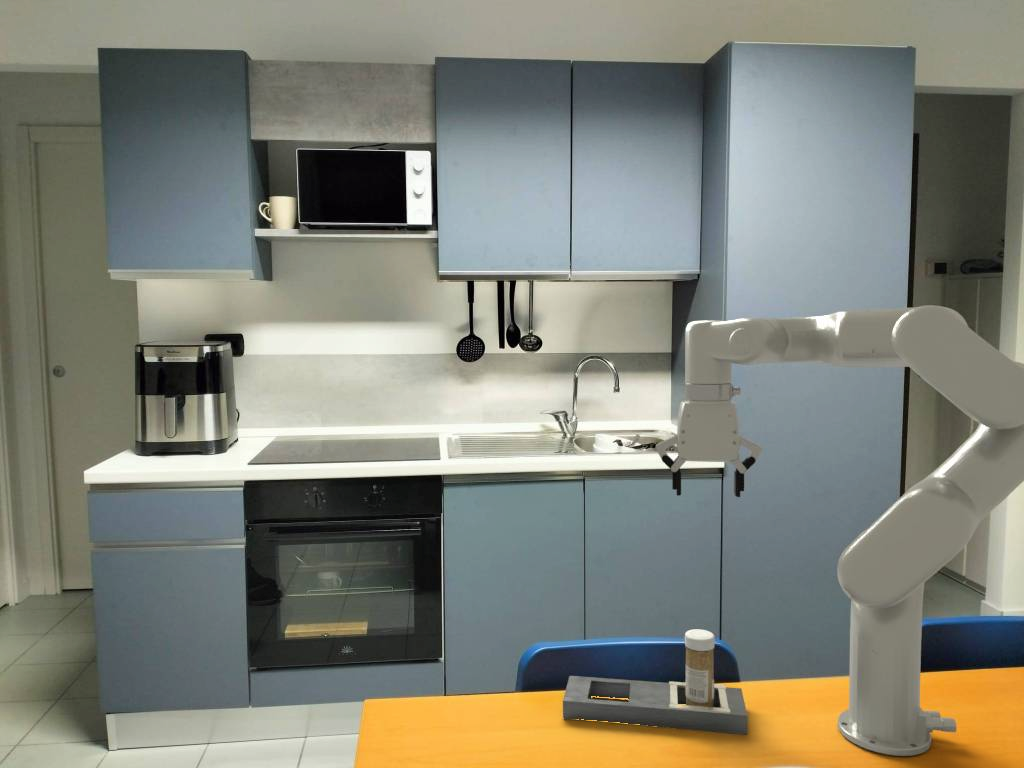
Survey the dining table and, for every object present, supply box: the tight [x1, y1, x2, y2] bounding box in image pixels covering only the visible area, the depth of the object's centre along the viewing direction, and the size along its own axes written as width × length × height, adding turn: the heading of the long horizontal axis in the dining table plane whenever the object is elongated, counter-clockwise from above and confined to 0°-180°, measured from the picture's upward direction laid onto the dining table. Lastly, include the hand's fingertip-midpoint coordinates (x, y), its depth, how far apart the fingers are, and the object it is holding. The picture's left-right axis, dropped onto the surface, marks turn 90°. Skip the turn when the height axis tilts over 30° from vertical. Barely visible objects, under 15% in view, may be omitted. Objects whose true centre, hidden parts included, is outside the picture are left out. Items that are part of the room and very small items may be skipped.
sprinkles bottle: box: [684, 628, 716, 707], centre depth 120 cm, size 5×5×14 cm
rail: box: [562, 675, 748, 736], centre depth 122 cm, size 28×9×3 cm, turn 79°
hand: (707, 494), depth 129 cm, fingers open, 9 cm apart
